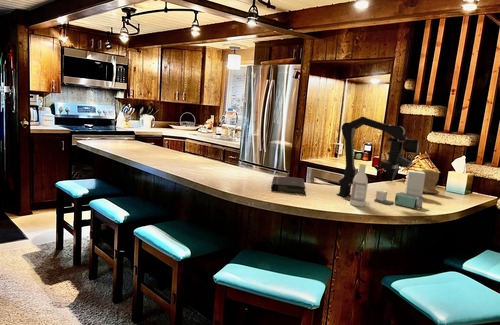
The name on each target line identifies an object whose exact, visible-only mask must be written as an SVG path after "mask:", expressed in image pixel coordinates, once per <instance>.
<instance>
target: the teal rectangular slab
mask: <svg viewBox="0 0 500 325" xmlns="http://www.w3.org/2000/svg"><path fill="white" fill-rule="evenodd" d="M394 204H395V205H398V206H401V207H403V206H404V207H408V208H410V207H411V208H412V209H415V204H416V198H413V197H408V196H404V195H399V194H396V193H395V196H394ZM411 208H410V209H411Z"/></svg>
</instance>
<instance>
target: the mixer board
mask: <svg viewBox="0 0 500 325" xmlns="http://www.w3.org/2000/svg"><path fill="white" fill-rule="evenodd" d="M373 202H376V203H380V204H383V205H388V206H391V205H393V204H394V203H395V201H392V200H389V199H386V200H384V201H381V200H377V199H376V198H375V199H374V201H373Z"/></svg>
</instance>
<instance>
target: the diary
mask: <svg viewBox="0 0 500 325" xmlns="http://www.w3.org/2000/svg"><path fill="white" fill-rule="evenodd" d="M271 181H272V182H271V186H270V188H271V190H270V191H272V192H273V191H275V192H282V193H288V194H296V195H305V190H306V184H305V180H304V178H300V177H291V176H276V175H274V176H273V177H272V180H271Z"/></svg>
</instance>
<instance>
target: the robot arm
mask: <svg viewBox="0 0 500 325" xmlns="http://www.w3.org/2000/svg"><path fill="white" fill-rule="evenodd" d="M363 126H367V127H370V128H374V129H377V130H379V131H381V132H385V133H386V134H387V135H389V136H390V137H389V138H387V139H386V141H387V142H390V144H389V151H388V152H386V153H387V155H388V159H386V161H385V160H384V161H383V160H382V161H380V163H379V167H380V168H383V169H385V171H386V174H387V178H388V180H389V182H393V180H394V179H395V177H396V175H397V173H398V171H400V170H402V168H405V169H408V168H411V166H412V165H413V158H412V157H407V158H406V157H404V154H403V153H402V150H403V151H404V153H409V154H416V155H417V154H418V152H419V148H420V147H419V142H420V139H410V138H408V137H407V135H406V130H405V128H404V127H403V126H401V125H392V124H386V123H384V122H380V121H377V120H374V119H370V118H368V117H367V116H366V117H365V116H360V117H359V118H357V119H354V120H352V121H350V122H344V123H343V124H341V132H342V137H343V139H344V150H345V151H344V152H345V169H344V173H343V177H342V178H340V180H338V184H339V192H338V193H336V195H337V196H340V197H345V198H351V192H352V185H353V179H354V177H355V175H356V174H357V173H358V172H359V168H356V167H355V152H354V151H355V150H354V149H355V148H354V137H355V134H356V130H357V129H359V128H361V127H363ZM399 167H401V168H399Z"/></svg>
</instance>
